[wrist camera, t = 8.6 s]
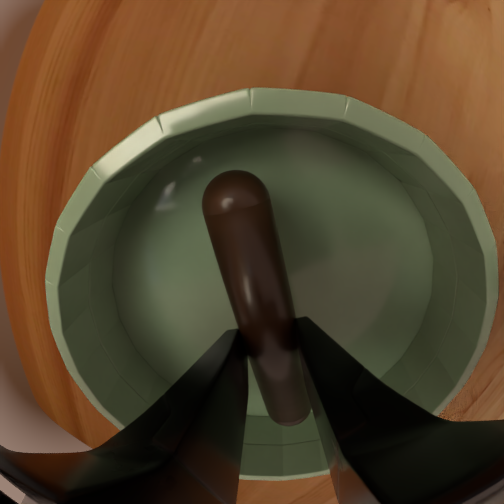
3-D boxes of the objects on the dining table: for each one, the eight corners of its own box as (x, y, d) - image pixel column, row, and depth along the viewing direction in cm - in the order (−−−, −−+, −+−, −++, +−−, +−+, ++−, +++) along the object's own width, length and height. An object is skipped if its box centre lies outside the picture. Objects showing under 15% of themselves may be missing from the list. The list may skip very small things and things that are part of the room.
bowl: (421, 381, 13) (448, 437, 9) (178, 421, 15) (162, 478, 11) (420, 93, 8) (493, 77, 4) (65, 180, 10) (-9, 203, 6)
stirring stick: (311, 398, 11) (315, 430, 9) (271, 404, 11) (271, 436, 10) (262, 160, 8) (261, 164, 6) (202, 175, 8) (184, 184, 6)
